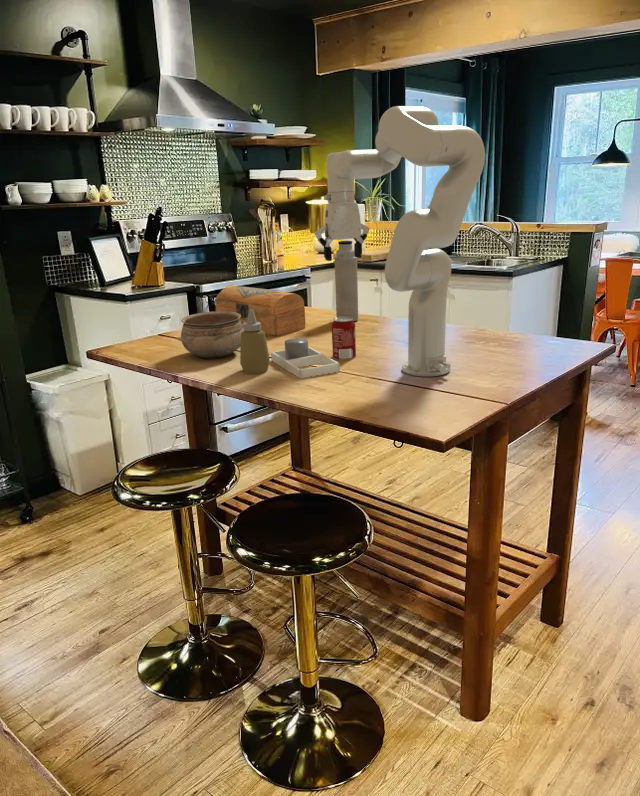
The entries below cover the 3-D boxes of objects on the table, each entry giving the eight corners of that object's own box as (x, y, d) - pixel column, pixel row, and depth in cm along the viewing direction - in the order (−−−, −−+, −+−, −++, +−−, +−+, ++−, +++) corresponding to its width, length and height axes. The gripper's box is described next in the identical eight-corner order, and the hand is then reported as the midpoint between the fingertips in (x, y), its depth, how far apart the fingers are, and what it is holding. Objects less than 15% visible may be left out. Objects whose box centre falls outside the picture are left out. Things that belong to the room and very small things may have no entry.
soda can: (354, 362, 180) (353, 321, 176) (331, 362, 182) (329, 321, 177) (357, 355, 187) (356, 315, 183) (334, 355, 188) (333, 315, 184)
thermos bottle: (345, 315, 237) (343, 239, 227) (362, 318, 232) (361, 240, 222) (332, 320, 231) (329, 241, 221) (349, 322, 226) (346, 242, 216)
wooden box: (214, 328, 228) (210, 289, 223) (247, 319, 240) (244, 282, 235) (273, 339, 209) (270, 297, 204) (306, 329, 221) (304, 289, 216)
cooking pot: (226, 343, 206) (222, 306, 202) (266, 352, 194) (263, 313, 190) (162, 362, 188) (157, 322, 184) (202, 373, 177) (197, 330, 172)
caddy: (340, 375, 170) (339, 350, 167) (300, 383, 165) (299, 357, 163) (308, 357, 187) (307, 334, 185) (271, 363, 183) (270, 340, 180)
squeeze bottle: (274, 370, 176) (269, 306, 170) (266, 379, 169) (261, 313, 163) (246, 369, 178) (241, 306, 172) (237, 378, 171) (231, 313, 164)
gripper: (319, 200, 175) (321, 263, 181) (374, 196, 181) (375, 257, 187) (308, 200, 181) (311, 260, 187) (362, 196, 188) (363, 255, 193)
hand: (343, 258), depth 187 cm, fingers open, 9 cm apart
